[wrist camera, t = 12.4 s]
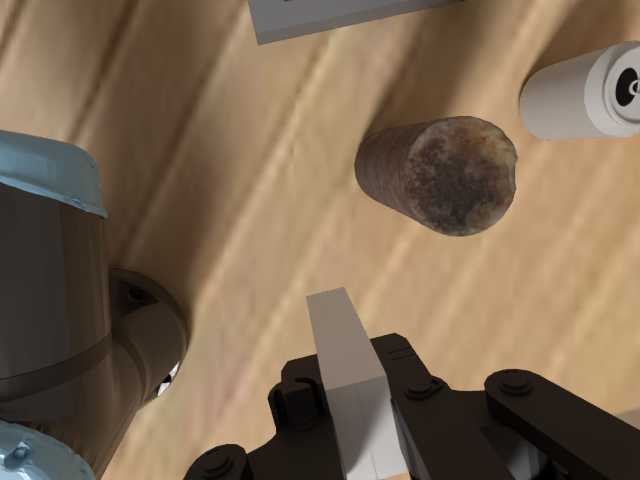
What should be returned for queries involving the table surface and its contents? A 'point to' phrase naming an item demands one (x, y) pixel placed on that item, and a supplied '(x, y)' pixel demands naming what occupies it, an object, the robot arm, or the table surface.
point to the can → (585, 96)
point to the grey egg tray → (324, 15)
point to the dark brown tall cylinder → (441, 173)
